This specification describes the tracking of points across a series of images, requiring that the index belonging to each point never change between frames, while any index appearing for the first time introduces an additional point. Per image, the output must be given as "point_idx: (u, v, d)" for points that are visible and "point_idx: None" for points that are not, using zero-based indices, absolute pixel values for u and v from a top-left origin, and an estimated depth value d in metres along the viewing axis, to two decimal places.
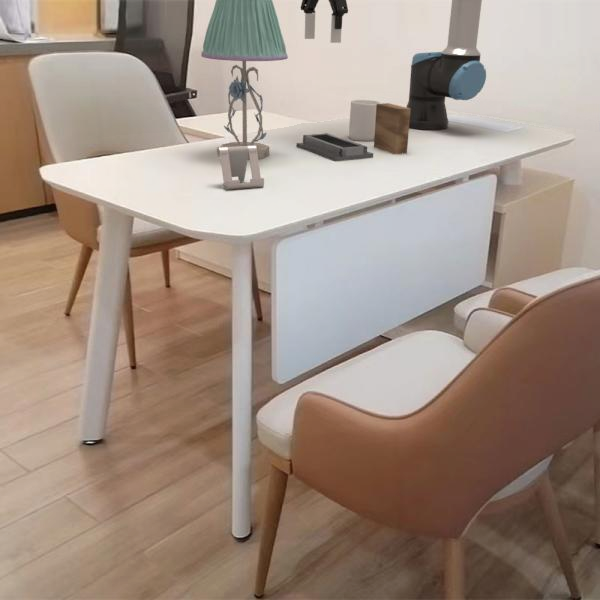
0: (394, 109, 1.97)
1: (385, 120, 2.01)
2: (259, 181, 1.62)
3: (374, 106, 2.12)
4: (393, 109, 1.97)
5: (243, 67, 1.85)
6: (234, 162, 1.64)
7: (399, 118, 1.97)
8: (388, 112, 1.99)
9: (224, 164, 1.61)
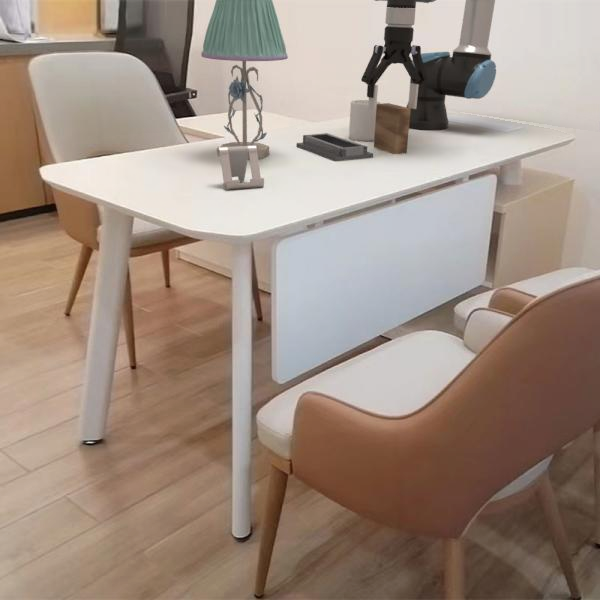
0: (394, 109, 1.97)
1: (385, 120, 2.01)
2: (259, 181, 1.62)
3: None
4: (393, 109, 1.97)
5: (243, 67, 1.85)
6: (234, 162, 1.64)
7: (399, 118, 1.97)
8: (388, 112, 1.99)
9: (224, 164, 1.61)
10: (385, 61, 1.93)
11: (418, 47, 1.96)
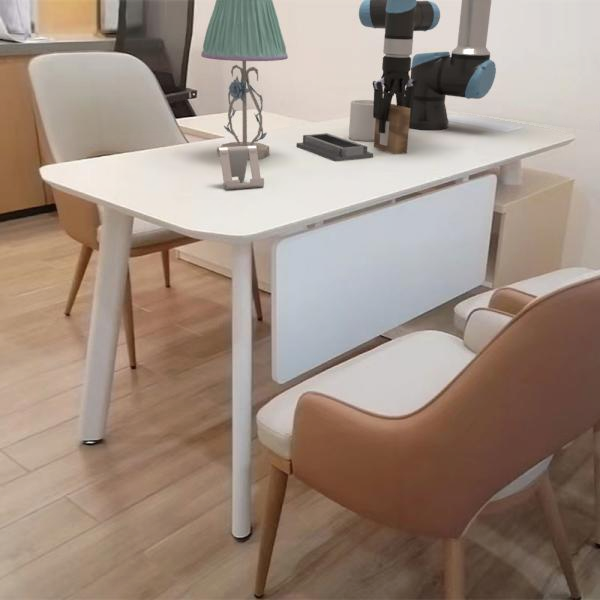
0: (394, 109, 1.97)
1: None
2: (259, 181, 1.62)
3: None
4: (393, 109, 1.97)
5: (243, 67, 1.85)
6: (234, 162, 1.64)
7: (399, 118, 1.96)
8: None
9: (224, 164, 1.61)
10: (387, 94, 1.97)
11: (415, 81, 2.00)
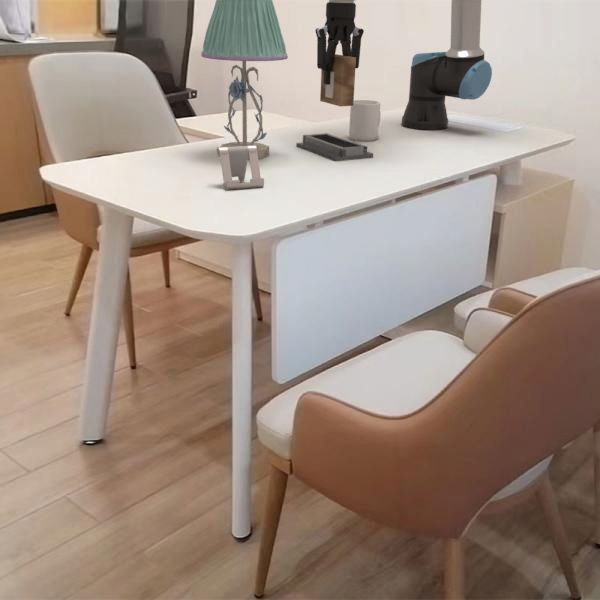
0: (338, 58, 1.87)
1: None
2: (259, 181, 1.62)
3: (374, 106, 2.12)
4: (338, 58, 1.88)
5: (243, 67, 1.85)
6: (234, 162, 1.64)
7: (344, 67, 1.87)
8: (333, 62, 1.90)
9: (224, 164, 1.61)
10: (332, 43, 1.88)
11: (361, 30, 1.90)
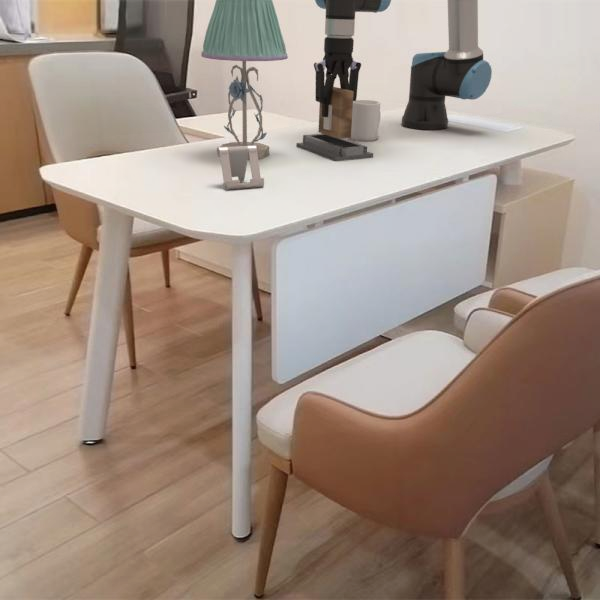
0: (336, 92, 1.91)
1: None
2: (259, 181, 1.62)
3: (374, 106, 2.12)
4: (335, 92, 1.91)
5: (243, 67, 1.85)
6: (234, 162, 1.64)
7: (341, 101, 1.90)
8: (331, 95, 1.93)
9: (224, 164, 1.61)
10: (330, 76, 1.91)
11: (359, 63, 1.93)
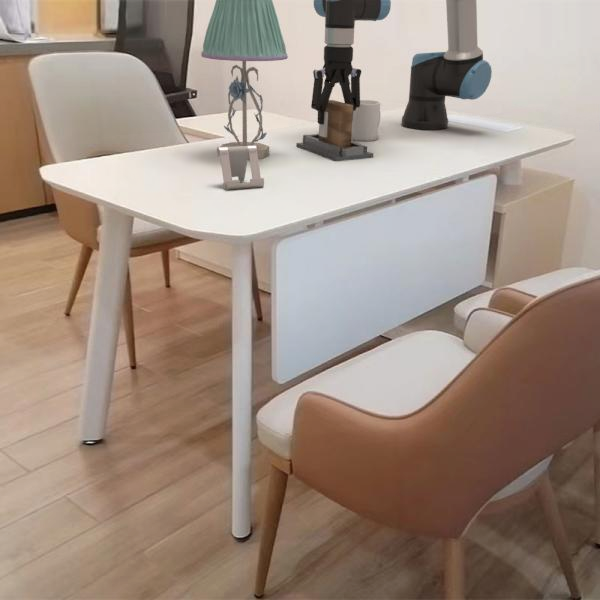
0: (336, 106, 1.92)
1: (328, 117, 1.96)
2: (259, 181, 1.62)
3: (374, 106, 2.12)
4: (335, 106, 1.92)
5: (243, 67, 1.85)
6: (234, 162, 1.64)
7: (341, 115, 1.92)
8: (331, 109, 1.95)
9: (224, 164, 1.61)
10: (328, 84, 1.92)
11: (359, 70, 1.94)
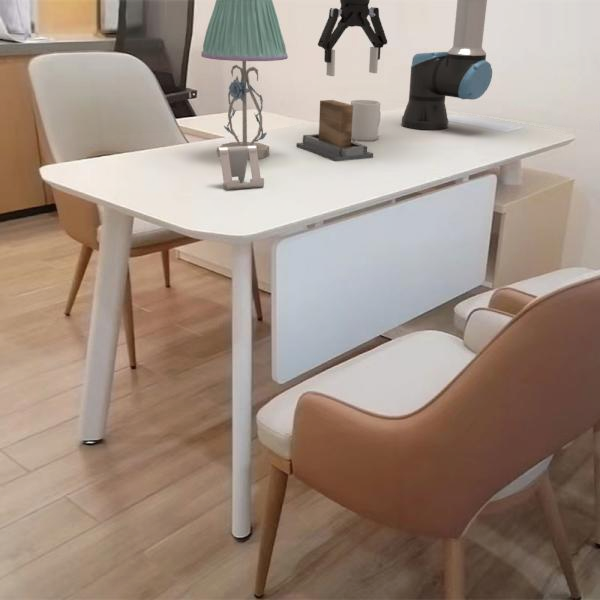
0: (336, 106, 1.92)
1: (328, 117, 1.96)
2: (259, 181, 1.62)
3: (374, 106, 2.12)
4: (335, 106, 1.92)
5: (243, 67, 1.85)
6: (234, 162, 1.64)
7: (341, 115, 1.92)
8: (331, 109, 1.95)
9: (224, 164, 1.61)
10: (342, 24, 1.88)
11: (376, 9, 1.91)
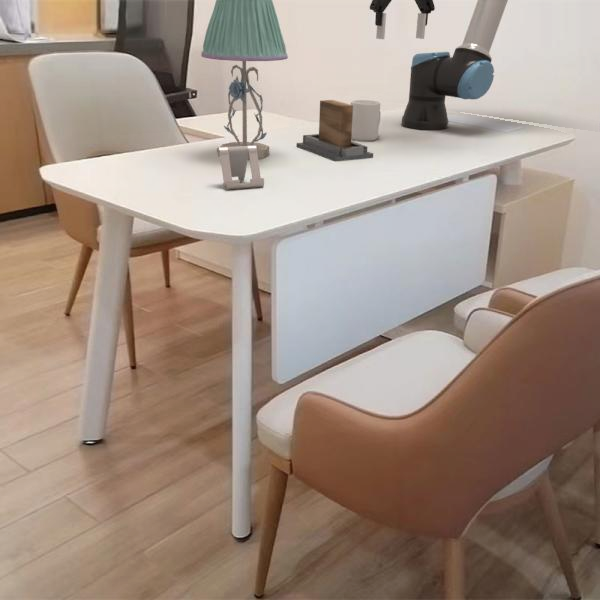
0: (336, 106, 1.92)
1: (328, 117, 1.96)
2: (259, 181, 1.62)
3: (374, 106, 2.12)
4: (335, 106, 1.92)
5: (243, 67, 1.85)
6: (234, 162, 1.64)
7: (341, 115, 1.92)
8: (331, 109, 1.95)
9: (224, 164, 1.61)
10: None
11: None
